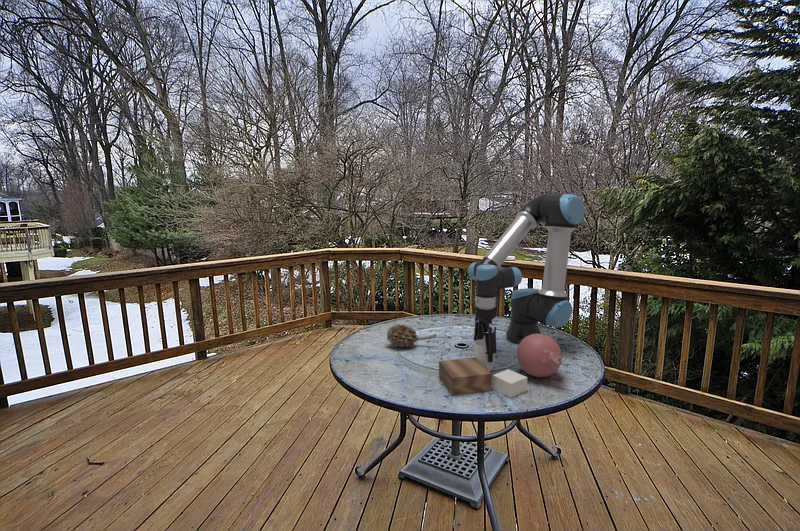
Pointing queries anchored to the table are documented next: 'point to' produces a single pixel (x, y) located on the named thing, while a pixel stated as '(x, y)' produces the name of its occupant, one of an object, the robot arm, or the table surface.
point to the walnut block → (465, 376)
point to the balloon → (539, 355)
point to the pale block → (509, 383)
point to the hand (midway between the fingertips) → (484, 364)
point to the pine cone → (404, 336)
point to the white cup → (480, 350)
